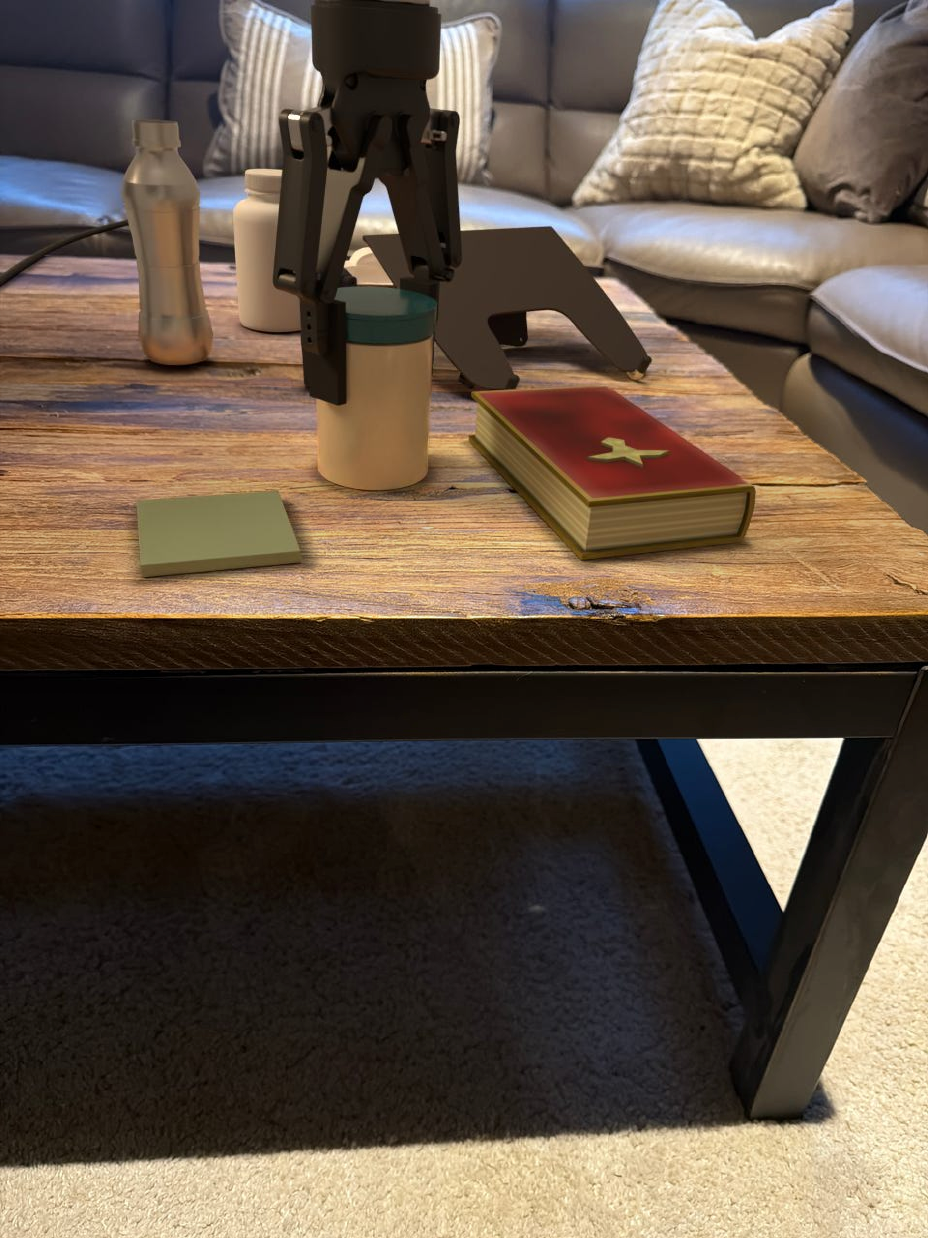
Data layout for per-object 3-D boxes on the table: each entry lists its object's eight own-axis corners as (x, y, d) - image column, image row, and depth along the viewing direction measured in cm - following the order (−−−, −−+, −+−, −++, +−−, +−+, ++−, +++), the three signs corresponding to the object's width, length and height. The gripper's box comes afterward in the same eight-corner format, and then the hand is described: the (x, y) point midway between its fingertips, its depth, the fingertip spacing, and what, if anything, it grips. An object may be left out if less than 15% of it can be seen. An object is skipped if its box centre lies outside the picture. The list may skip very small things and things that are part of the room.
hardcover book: (603, 430, 79) (610, 380, 77) (746, 541, 62) (760, 481, 60) (468, 440, 76) (471, 387, 73) (581, 560, 59) (589, 497, 57)
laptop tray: (451, 460, 87) (482, 385, 80) (346, 295, 96) (366, 214, 89) (637, 424, 99) (679, 356, 92) (528, 280, 108) (558, 207, 101)
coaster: (137, 511, 61) (136, 500, 61) (278, 501, 64) (278, 489, 63) (142, 577, 54) (140, 565, 53) (301, 562, 56) (300, 550, 56)
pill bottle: (328, 322, 104) (326, 172, 96) (287, 338, 98) (281, 178, 90) (268, 311, 107) (261, 164, 99) (223, 326, 100) (212, 170, 93)
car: (408, 281, 124) (410, 243, 122) (421, 292, 119) (422, 253, 117) (317, 282, 121) (316, 243, 118) (326, 293, 116) (325, 253, 113)
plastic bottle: (230, 362, 90) (213, 124, 79) (173, 378, 85) (148, 126, 74) (183, 348, 92) (161, 117, 82) (126, 363, 88) (95, 118, 77)
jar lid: (308, 310, 67) (307, 285, 66) (424, 312, 69) (425, 286, 68) (317, 343, 60) (316, 314, 59) (446, 343, 62) (447, 316, 61)
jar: (317, 447, 72) (314, 291, 66) (422, 449, 73) (428, 295, 67) (317, 490, 65) (313, 320, 60) (433, 490, 67) (440, 323, 61)
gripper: (285, -18, 45) (300, 436, 57) (533, 11, 60) (505, 368, 72) (184, -20, 49) (218, 406, 61) (441, 8, 64) (429, 347, 75)
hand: (373, 385), depth 66 cm, fingers closed on jar lid, 8 cm apart
